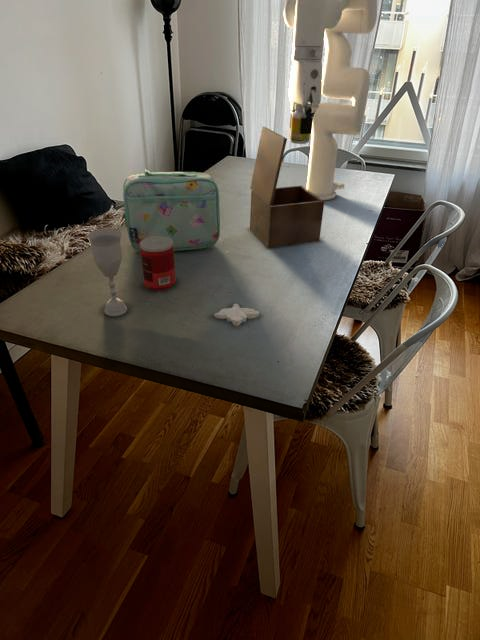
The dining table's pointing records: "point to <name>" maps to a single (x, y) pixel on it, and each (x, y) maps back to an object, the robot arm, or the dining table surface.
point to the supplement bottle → (298, 126)
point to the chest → (287, 217)
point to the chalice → (108, 263)
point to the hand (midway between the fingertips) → (300, 130)
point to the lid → (268, 164)
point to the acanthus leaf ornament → (236, 314)
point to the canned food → (158, 262)
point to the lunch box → (172, 208)
